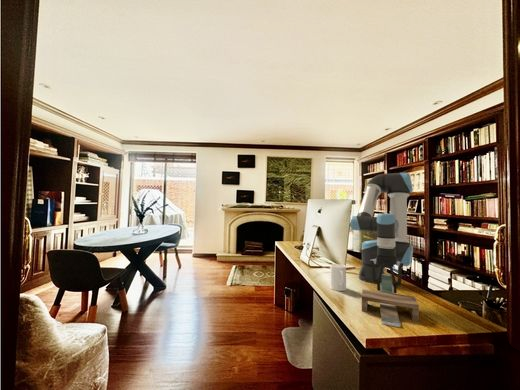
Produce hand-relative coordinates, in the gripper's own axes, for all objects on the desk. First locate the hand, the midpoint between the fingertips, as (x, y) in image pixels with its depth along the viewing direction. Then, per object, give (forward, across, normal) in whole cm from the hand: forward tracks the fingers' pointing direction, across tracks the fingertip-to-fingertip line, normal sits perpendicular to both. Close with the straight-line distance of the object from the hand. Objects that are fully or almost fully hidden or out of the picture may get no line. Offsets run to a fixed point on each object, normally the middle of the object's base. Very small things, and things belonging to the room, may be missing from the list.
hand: (386, 298), depth 110 cm
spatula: (+1, 0, -8) cm, 8 cm away
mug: (+2, -22, +9) cm, 24 cm away
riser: (+2, 0, -10) cm, 11 cm away
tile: (+2, 0, -21) cm, 21 cm away
